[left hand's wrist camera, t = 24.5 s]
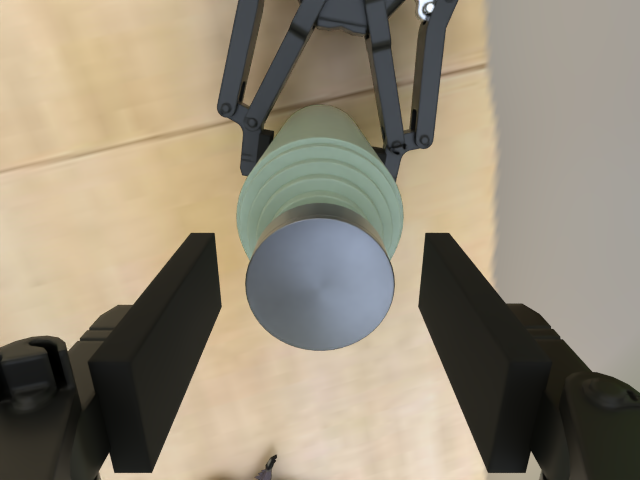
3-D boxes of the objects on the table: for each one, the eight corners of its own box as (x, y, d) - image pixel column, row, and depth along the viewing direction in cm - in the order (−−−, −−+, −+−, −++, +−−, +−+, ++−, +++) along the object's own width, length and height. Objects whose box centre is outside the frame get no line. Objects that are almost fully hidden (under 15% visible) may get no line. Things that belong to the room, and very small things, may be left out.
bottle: (376, 168, 37) (466, 322, 14) (301, 204, 38) (273, 399, 15) (340, 88, 35) (380, 119, 12) (261, 129, 36) (159, 228, 13)
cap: (358, 339, 15) (362, 366, 14) (237, 302, 15) (228, 327, 13) (408, 228, 14) (419, 246, 12) (275, 183, 13) (270, 196, 12)
